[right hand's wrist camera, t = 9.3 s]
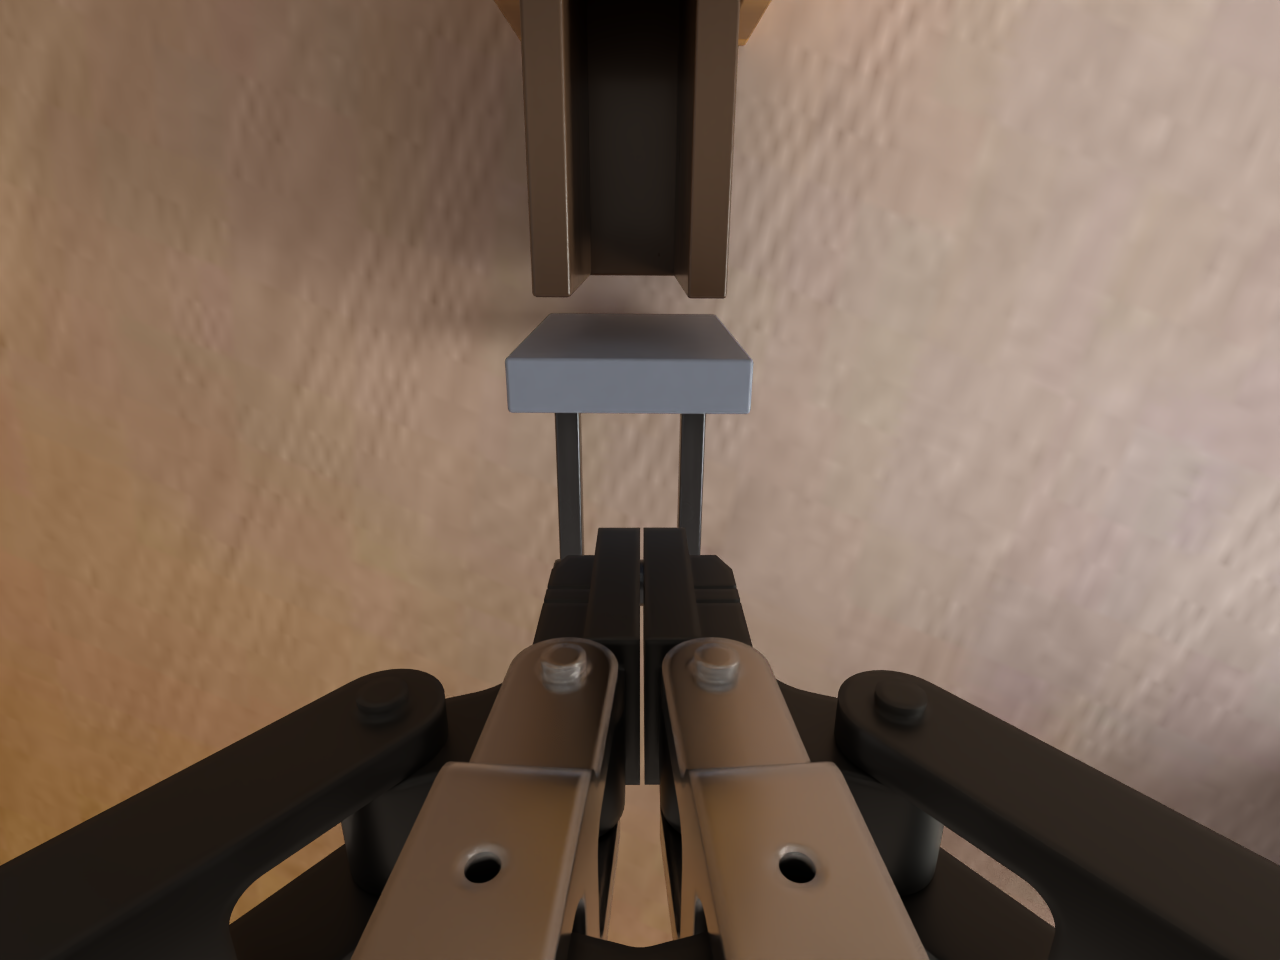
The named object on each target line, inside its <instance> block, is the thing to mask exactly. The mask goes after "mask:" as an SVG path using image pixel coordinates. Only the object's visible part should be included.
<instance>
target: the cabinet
mask: <svg viewBox="0 0 1280 960" xmlns="http://www.w3.org/2000/svg"><path fill="white" fill-rule="evenodd" d="M494 1H495V3H496V4H497V6H498V7H499V9H500V10H501V12H502V13H503V15H504V16H505V18H506V20H507V21H508V23H509V24H510V26H511V27H512V29H513V30H514V32H515V33H516V35H517V36H518V38H519V39H520V41H521V27H520V5H519V0H494ZM770 2H771V0H740V17H739V38H738V45H742V46H743V45H745V44H746V42H747V41H748V39H749V37H750V36H751V34H752V32H753V31H754V29H755V27H756V25H757V24H758V22H759V20H760V19H761V17H762V15H763V14H764V12H765V10H766V9H767V7H768V5H769V4H770Z"/></svg>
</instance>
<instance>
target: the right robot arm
mask: <svg viewBox="0 0 1280 960" xmlns="http://www.w3.org/2000/svg"><path fill="white" fill-rule="evenodd" d="M643 640H644V760H645V785H660V841H661V849H662V857H663V865H664V873H665V881H666V889H667V897H668V905H669V913H670V921H671V929H672V937H673V941H669V942H665V943H662V944H658V945H654V946H649V947H631V946H626V945H622V944H618V943H615V942H611V941H607V937H608V929H609V921H610V913H611V905H612V897H613V889H614V881H615V873H616V865H617V857H618V849H619V841H620V817H621V816H622V813H623V810H624V804H625V785H640V528H598V535H597V542H596V550H595V555H567V556H566V557H565V558H564V559H563V560H562V561H561V562H560V563H559V564H557V565H556V566H555V567H554V568H553V569H552V571H551V575H550V579H549V583H548V589H547V591H546V594H545V598H544V603H543V606H542V610H541V614H540V618H539V622H538V626H537V630H536V634H535V638H534V642H533V645H531V646H529V647H528V648H526V649H524V650H523V651H521V652H520V653H519V654H518V655H517V656H516V657H515V658H514V659H513V661H512V662H511V664H510V666H509V669H508V671H507V673H506V676H505V678H504V681H503V683H501V684H499V685H497V686H495V687H492V688H489V689H486V690H483V691H479V692H475V693H470V694H466V695H461V696H456V697H452V698H447V699H445V694H444V689H443V686H442V684H441V683H440V682H439V680H438V679H436V678H435V677H434V676H432V675H430V674H428V673H426V672H422V671H419V670H413V669H391V670H384V671H379V672H375V673H371V674H368V675H366V676H363V677H360V678H358V679H356V680H354V681H352V682H350V683H348V684H346V685H344V686H342V687H340V688H338V689H336V690H334V691H332V692H331V693H329V694H327V695H325V696H323V697H321V698H319V699H317V700H315V701H313V702H312V703H310V704H308V705H306V706H304V707H302V708H300V709H298V710H296V711H294V712H292V713H291V714H289V715H287V716H285V717H283V718H281V719H279V720H277V721H275V722H273V723H271V724H270V725H268V726H266V727H264V728H262V729H260V730H258V731H256V732H254V733H252V734H251V735H249V736H247V737H245V738H243V739H241V740H239V741H237V742H235V743H233V744H231V745H230V746H228V747H226V748H224V749H222V750H220V751H218V752H216V753H214V754H212V755H211V756H209V757H207V758H205V759H203V760H201V761H199V762H197V763H195V764H193V765H191V766H190V767H188V768H186V769H184V770H182V771H180V772H178V773H176V774H174V775H172V776H170V777H169V778H167V779H165V780H163V781H161V782H159V783H157V784H155V785H153V786H151V787H150V788H148V789H146V790H144V791H142V792H140V793H138V794H136V795H134V796H132V797H130V798H129V799H127V800H125V801H123V802H121V803H119V804H117V805H115V806H113V807H111V808H110V809H108V810H106V811H104V812H102V813H100V814H98V815H96V816H94V817H92V818H90V819H89V820H87V821H85V822H83V823H81V824H79V825H77V826H75V827H73V828H71V829H69V830H68V831H66V832H64V833H62V834H60V835H58V836H56V837H54V838H52V839H50V840H49V841H47V842H45V843H43V844H41V845H39V846H37V847H35V848H33V849H31V850H29V851H28V852H26V853H24V854H22V855H20V856H18V857H16V858H14V859H12V860H10V861H9V862H7V863H5V864H3V865H1V866H0V960H1280V866H1279V865H1277V864H1275V863H1273V862H1272V861H1270V860H1268V859H1266V858H1264V857H1262V856H1260V855H1258V854H1256V853H1254V852H1252V851H1251V850H1249V849H1247V848H1245V847H1243V846H1241V845H1239V844H1237V843H1235V842H1233V841H1232V840H1230V839H1228V838H1226V837H1224V836H1222V835H1220V834H1218V833H1216V832H1214V831H1212V830H1211V829H1209V828H1207V827H1205V826H1203V825H1201V824H1199V823H1197V822H1195V821H1193V820H1191V819H1190V818H1188V817H1186V816H1184V815H1182V814H1180V813H1178V812H1176V811H1174V810H1172V809H1171V808H1169V807H1167V806H1165V805H1163V804H1161V803H1159V802H1157V801H1155V800H1153V799H1151V798H1150V797H1148V796H1146V795H1144V794H1142V793H1140V792H1138V791H1136V790H1134V789H1132V788H1131V787H1129V786H1127V785H1125V784H1123V783H1121V782H1119V781H1117V780H1115V779H1113V778H1111V777H1110V776H1108V775H1106V774H1104V773H1102V772H1100V771H1098V770H1096V769H1094V768H1092V767H1090V766H1089V765H1087V764H1085V763H1083V762H1081V761H1079V760H1077V759H1075V758H1073V757H1071V756H1070V755H1068V754H1066V753H1064V752H1062V751H1060V750H1058V749H1056V748H1054V747H1052V746H1050V745H1049V744H1047V743H1045V742H1043V741H1041V740H1039V739H1037V738H1035V737H1033V736H1031V735H1029V734H1028V733H1026V732H1024V731H1022V730H1020V729H1018V728H1016V727H1014V726H1012V725H1010V724H1009V723H1007V722H1005V721H1003V720H1001V719H999V718H997V717H995V716H993V715H991V714H989V713H988V712H986V711H984V710H982V709H980V708H978V707H976V706H974V705H972V704H970V703H969V702H967V701H965V700H963V699H961V698H959V697H957V696H955V695H953V694H951V693H949V692H948V691H946V690H944V689H942V688H940V687H938V686H936V685H934V684H932V683H930V682H928V681H926V680H924V679H921V678H919V677H916V676H913V675H910V674H906V673H902V672H896V671H886V670H873V671H866V672H862V673H858V674H855V675H853V676H851V677H849V678H848V679H847V680H846V681H844V683H843V684H842V685H841V687H840V689H839V692H838V698H835V697H830V696H825V695H821V694H816V693H811V692H807V691H803V690H799V689H797V688H794V687H791V686H789V685H786V684H784V683H782V682H780V681H778V680H777V679H776V678H775V676H774V673H773V671H772V669H771V666H770V664H769V662H768V661H767V659H766V658H765V657H764V656H763V655H762V654H761V653H760V652H759V651H757V650H756V649H754V648H753V647H752V643H751V639H750V636H749V632H748V628H747V624H746V620H745V617H744V613H743V609H742V605H741V603H740V598H739V594H738V590H737V589H736V583H735V579H734V575H733V572H732V569H731V568H730V567H729V566H728V565H726V564H725V563H724V562H723V561H722V560H721V559H720V558H719V557H717V556H716V555H689V550H688V544H687V537H686V530H685V528H644V582H643ZM340 822H341V825H342V830H343V835H344V841H345V844H344V845H342V846H341V847H339V848H338V849H337V850H335V851H334V852H332V853H331V854H330V855H328V856H327V857H325V858H324V859H322V860H321V861H320V862H318V863H317V864H315V865H314V866H313V867H311V868H310V869H308V870H307V871H305V872H304V873H303V874H301V875H300V876H298V877H297V878H295V879H294V880H293V881H291V882H290V883H288V884H287V885H286V886H284V887H283V888H281V889H280V890H278V891H277V892H276V893H274V894H273V895H271V896H270V897H269V898H267V899H266V900H264V901H263V902H261V903H260V904H259V905H257V906H256V907H254V908H253V909H252V910H250V911H249V912H247V913H246V914H244V915H243V916H242V917H240V918H239V919H237V920H236V921H235V922H233V923H232V924H230V925H229V920H230V916H231V913H232V911H233V908H234V906H235V904H236V903H237V901H238V899H239V898H240V897H241V895H242V894H243V893H244V891H245V890H246V889H247V888H248V887H249V886H250V885H251V884H252V883H253V882H254V881H255V880H257V879H258V878H259V877H261V876H262V875H263V874H265V873H266V872H268V871H269V870H271V869H272V868H274V867H275V866H277V865H278V864H280V863H281V862H283V861H284V860H285V859H287V858H288V857H290V856H291V855H293V854H294V853H296V852H297V851H299V850H300V849H302V848H303V847H305V846H306V845H308V844H309V843H311V842H312V841H314V840H315V839H317V838H318V837H319V836H321V835H322V834H324V833H325V832H327V831H328V830H330V829H331V828H333V827H334V826H336V825H337V824H339V823H340ZM944 826H946V827H947V828H949V829H950V830H952V831H953V832H955V833H956V834H958V835H959V836H961V837H962V838H964V839H965V840H966V841H968V842H969V843H971V844H972V845H974V846H975V847H977V848H978V849H980V850H981V851H983V852H984V853H986V854H987V855H989V856H990V857H992V858H993V859H995V860H996V861H997V862H999V863H1000V864H1002V865H1003V866H1005V867H1006V868H1008V869H1009V870H1011V871H1012V872H1014V873H1015V874H1017V875H1018V876H1020V877H1021V878H1022V879H1024V880H1025V881H1026V882H1028V883H1029V884H1030V885H1031V886H1032V887H1033V888H1034V889H1035V890H1036V891H1037V892H1038V893H1039V894H1040V895H1041V896H1042V898H1043V899H1044V900H1045V902H1046V903H1047V905H1048V907H1049V909H1050V911H1051V913H1052V915H1053V918H1054V922H1055V928H1054V927H1053V926H1051V925H1050V924H1048V923H1047V922H1046V921H1044V920H1043V919H1041V918H1040V917H1038V916H1037V915H1036V914H1034V913H1033V912H1031V911H1030V910H1028V909H1027V908H1026V907H1024V906H1023V905H1021V904H1020V903H1019V902H1017V901H1016V900H1014V899H1013V898H1011V897H1010V896H1009V895H1007V894H1006V893H1004V892H1003V891H1002V890H1000V889H999V888H997V887H996V886H994V885H993V884H992V883H990V882H989V881H987V880H986V879H985V878H983V877H982V876H980V875H979V874H977V873H976V872H975V871H973V870H972V869H970V868H969V867H967V866H966V865H965V864H963V863H962V862H960V861H959V860H958V859H956V858H955V857H953V856H952V855H950V854H949V853H948V852H946V851H945V850H943V849H942V848H941V847H940V843H941V838H942V833H943V827H944Z"/></svg>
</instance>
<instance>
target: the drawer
mask: <svg viewBox="0 0 1280 960" xmlns="http://www.w3.org/2000/svg"><path fill="white" fill-rule="evenodd" d="M519 5H520V27H521V49H522V71H523V94H524V116H525V138H526V160H527V182H528V204H529V226H530V248H531V271H532V293H533V295H534V296H536V297H569V296H571V295H572V293H573V292H574V291H575V290H576V289H577V288H578V287H579V286H580V285H581V284H582V283H583V282H584V281H585V280H586V279H587V278H588V276H589V275H654V276H675V277H676V279H677V281H678V282H679V284H680V285H681V287H682V288H683V290H684V291H685V293H686V294H687V296H688V297H689V298H725V297H726V293H727V271H728V250H729V229H730V208H731V187H732V165H733V144H734V123H735V102H736V81H737V59H738V38H739V17H740V0H519ZM505 368H506V385H507V401H508V410H509V412H512V413H555V432H556V460H557V487H558V514H559V541H560V559H557V560H555V563H554V566H553V568H554V567H555V566H556V565H557V564H559V563H560V562H561V561H562V560H563V559H564V558H565V557H566V556H567V555H584V526H583V484H582V441H581V413H668V414H680V439H679V476H678V514H677V528H685V530H686V537H687V544H688V550H689V555H700V547H701V521H702V496H703V471H704V446H705V420H706V414H747V413H749V412H750V408H751V392H752V376H753V361H752V359H751V358H750V357H749V355H748V354H747V353H746V352H745V350H744V349H743V348H742V347H741V345H740V344H739V343H738V342H737V341H736V339H735V338H734V337H733V336H732V334H731V333H730V332H729V331H728V330H727V328H726V327H725V326H724V325H723V323H722V322H721V321H720V320H719V319H718V317H717V316H716V315H714V314H556V313H551V314H549V315H548V316H547V317H546V318H545V319H544V320H543V321H542V322H541V323H540V324H539V325H538V326H537V327H536V328H535V329H534V330H533V331H532V333H531V334H530V335H529V336H528V337H527V338H526V339H525V340H524V341H523V342H522V343H521V344H520V345H519V346H518V347H517V348H516V349H515V350H514V351H513V352H512V353H511V354H510V355H509V356H508V357H507V358H506V360H505ZM643 582H644V560H640V606H643Z"/></svg>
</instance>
